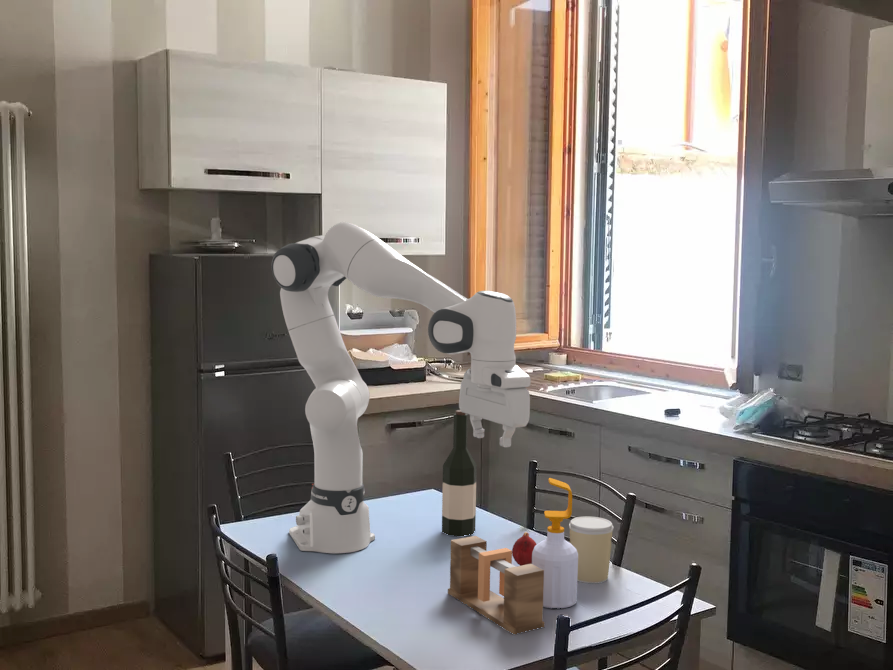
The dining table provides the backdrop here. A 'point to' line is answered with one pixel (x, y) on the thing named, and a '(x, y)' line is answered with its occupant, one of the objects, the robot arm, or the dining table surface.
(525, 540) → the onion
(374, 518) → the dining table surface
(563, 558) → the soap bottle
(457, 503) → the wine bottle
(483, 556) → the wooden arch
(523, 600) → the wooden rail stand
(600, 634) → the dining table surface
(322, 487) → the robot arm
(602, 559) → the coffee cup
